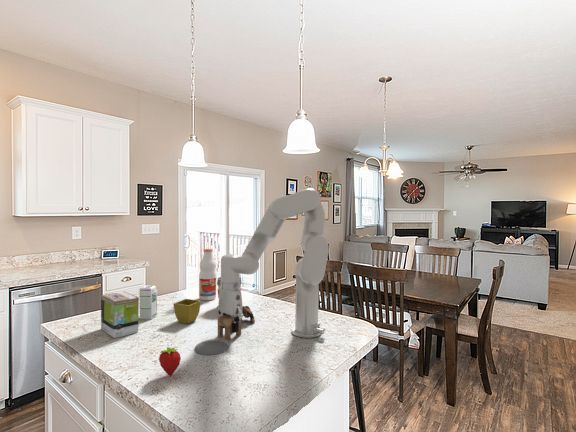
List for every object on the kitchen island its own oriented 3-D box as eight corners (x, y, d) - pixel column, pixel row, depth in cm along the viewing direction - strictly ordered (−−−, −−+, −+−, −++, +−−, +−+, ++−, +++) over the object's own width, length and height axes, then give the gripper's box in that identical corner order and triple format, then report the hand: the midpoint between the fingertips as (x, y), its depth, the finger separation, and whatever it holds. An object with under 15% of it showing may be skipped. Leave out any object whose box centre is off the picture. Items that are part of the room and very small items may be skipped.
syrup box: (151, 319, 153) (151, 288, 153) (139, 319, 153) (139, 287, 153) (157, 315, 159) (157, 285, 158) (144, 315, 159) (144, 284, 158)
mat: (234, 347, 124) (234, 346, 124) (207, 358, 115) (207, 357, 115) (214, 338, 132) (214, 337, 132) (187, 348, 123) (187, 347, 123)
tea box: (139, 332, 138) (139, 296, 137) (113, 339, 130) (113, 301, 130) (124, 323, 148) (125, 290, 148) (100, 329, 141) (100, 294, 140)
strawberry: (167, 383, 98) (167, 350, 98) (154, 375, 103) (154, 343, 103) (185, 376, 103) (185, 344, 103) (172, 368, 108) (172, 337, 108)
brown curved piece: (254, 327, 147) (245, 312, 145) (236, 335, 148) (227, 320, 147) (258, 312, 158) (250, 298, 156) (241, 319, 160) (233, 305, 158)
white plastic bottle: (212, 295, 195) (212, 247, 195) (218, 299, 188) (219, 249, 187) (196, 297, 190) (196, 248, 189) (202, 301, 182) (203, 250, 182)
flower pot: (172, 323, 149) (172, 303, 149) (185, 317, 157) (185, 298, 157) (188, 326, 146) (188, 305, 145) (201, 320, 154) (201, 300, 153)
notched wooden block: (241, 335, 136) (241, 315, 136) (227, 340, 131) (227, 320, 130) (231, 331, 140) (231, 312, 140) (217, 336, 135) (217, 316, 134)
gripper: (251, 287, 132) (251, 332, 133) (223, 280, 143) (223, 322, 144) (237, 291, 126) (236, 338, 127) (209, 283, 138) (208, 327, 138)
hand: (229, 329), depth 135 cm, fingers closed on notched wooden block, 6 cm apart
